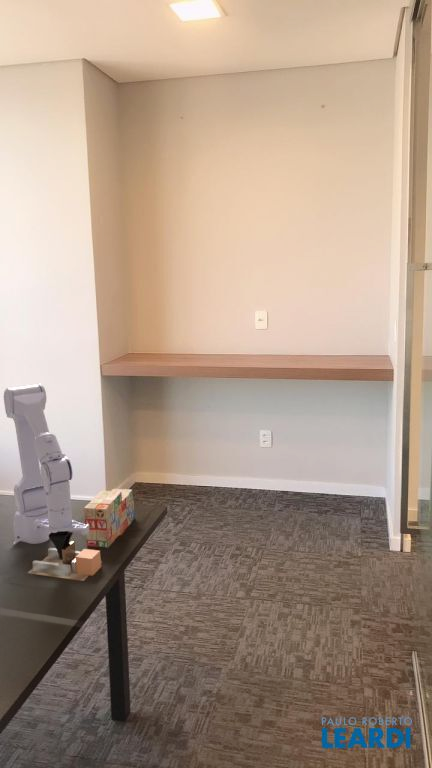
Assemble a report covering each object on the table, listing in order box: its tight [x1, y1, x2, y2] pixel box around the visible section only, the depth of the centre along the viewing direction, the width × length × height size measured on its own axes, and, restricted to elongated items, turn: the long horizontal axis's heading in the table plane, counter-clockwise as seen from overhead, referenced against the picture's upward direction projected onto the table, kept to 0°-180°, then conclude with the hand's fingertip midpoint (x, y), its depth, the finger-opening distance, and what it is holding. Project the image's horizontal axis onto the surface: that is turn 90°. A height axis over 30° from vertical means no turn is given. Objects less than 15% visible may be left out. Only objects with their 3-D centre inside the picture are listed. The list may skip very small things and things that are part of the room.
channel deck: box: [27, 547, 103, 582], centre depth 158 cm, size 16×10×4 cm, turn 73°
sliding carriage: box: [62, 540, 77, 573], centre depth 157 cm, size 4×5×6 cm
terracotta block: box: [75, 548, 102, 576], centre depth 156 cm, size 4×4×4 cm
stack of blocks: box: [83, 488, 136, 548], centre depth 178 cm, size 21×6×12 cm, turn 168°
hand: (63, 557), depth 158 cm, fingers closed
